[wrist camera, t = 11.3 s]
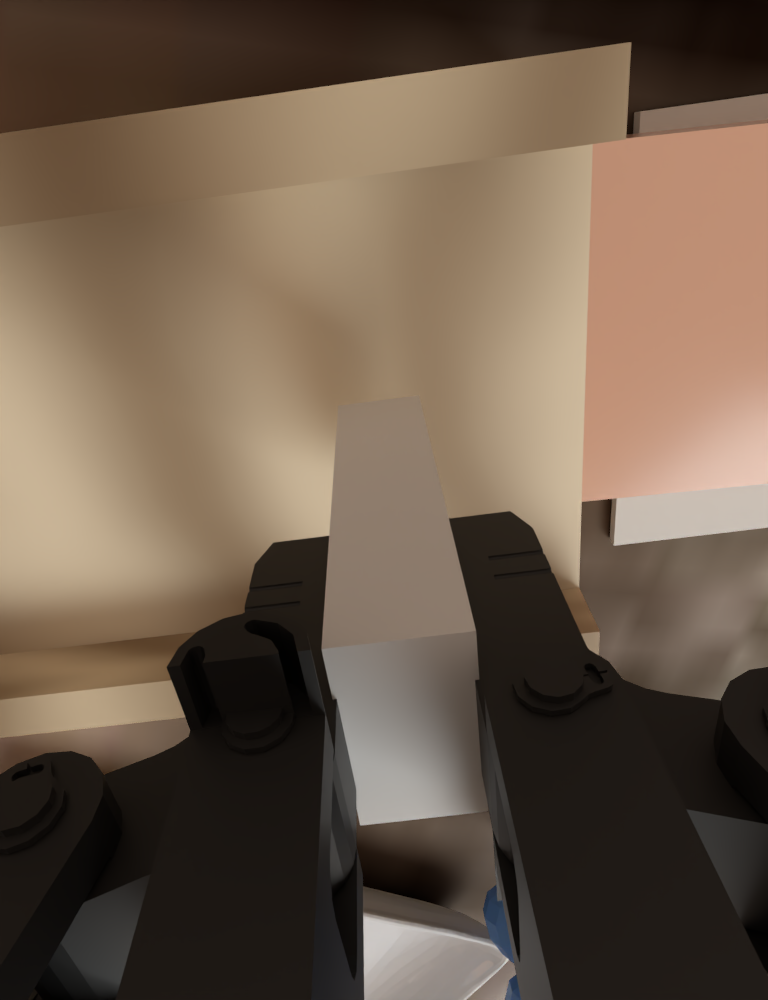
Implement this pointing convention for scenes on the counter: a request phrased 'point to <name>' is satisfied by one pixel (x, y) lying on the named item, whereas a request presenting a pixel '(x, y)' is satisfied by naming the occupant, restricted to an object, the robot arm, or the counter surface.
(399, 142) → the box
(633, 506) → the mat
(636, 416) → the block
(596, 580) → the counter surface
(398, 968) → the salad plate
